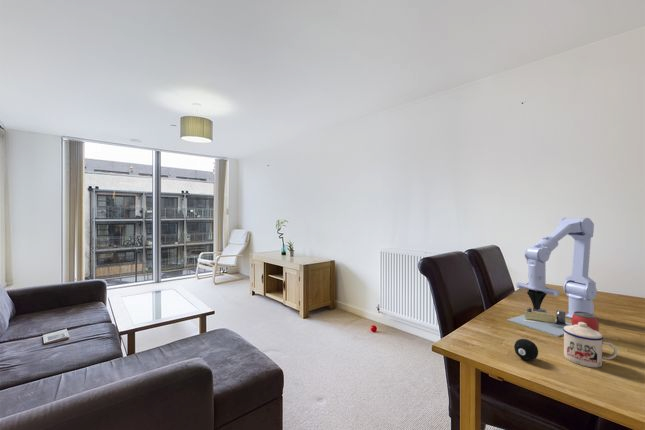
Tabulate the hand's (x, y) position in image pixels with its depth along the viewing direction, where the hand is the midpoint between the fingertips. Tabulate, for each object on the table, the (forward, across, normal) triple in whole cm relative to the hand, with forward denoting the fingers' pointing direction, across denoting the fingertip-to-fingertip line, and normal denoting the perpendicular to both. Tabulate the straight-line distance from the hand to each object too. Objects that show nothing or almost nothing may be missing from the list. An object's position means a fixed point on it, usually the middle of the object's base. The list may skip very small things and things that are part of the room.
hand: (536, 308), depth 116 cm
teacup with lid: (+6, +24, -21) cm, 32 cm away
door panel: (+6, +2, +2) cm, 7 cm away
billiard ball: (+6, +14, -36) cm, 39 cm away
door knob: (+6, +6, +7) cm, 11 cm away
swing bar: (+5, 0, +3) cm, 6 cm away
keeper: (+6, -4, +10) cm, 12 cm away
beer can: (+6, +20, -12) cm, 24 cm away
